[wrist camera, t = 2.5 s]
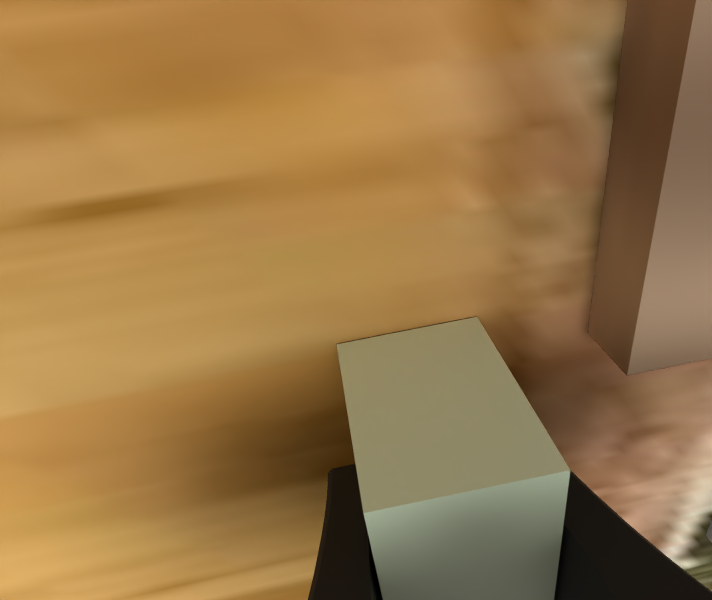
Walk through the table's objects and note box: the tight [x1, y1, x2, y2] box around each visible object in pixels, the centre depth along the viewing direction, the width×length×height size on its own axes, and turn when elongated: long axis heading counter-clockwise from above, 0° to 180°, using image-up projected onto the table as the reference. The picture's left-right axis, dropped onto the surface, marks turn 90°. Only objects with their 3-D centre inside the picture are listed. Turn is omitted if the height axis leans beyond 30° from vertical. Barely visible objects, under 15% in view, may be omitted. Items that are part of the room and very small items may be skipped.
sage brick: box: [336, 317, 570, 600], centre depth 10 cm, size 6×3×4 cm, turn 8°
